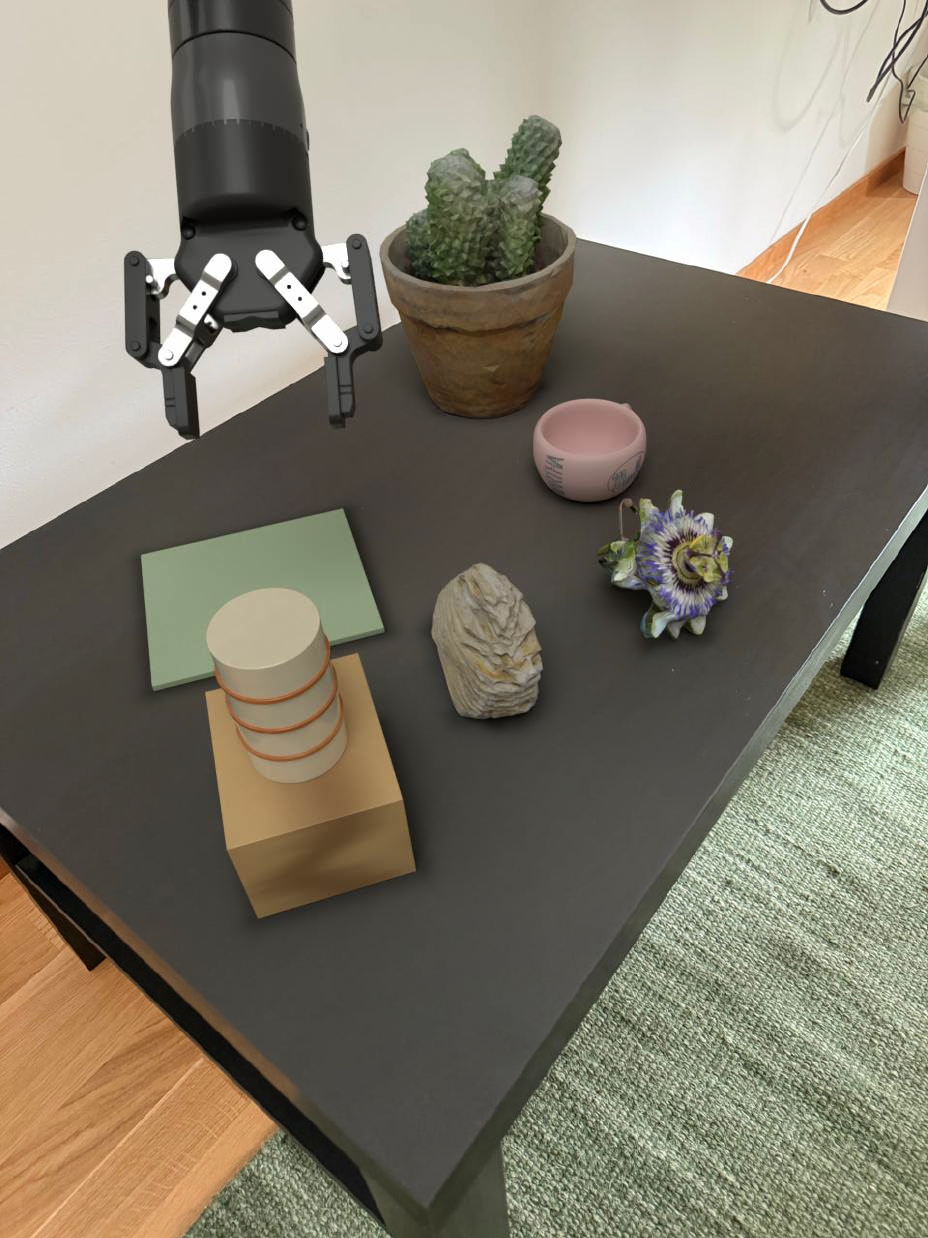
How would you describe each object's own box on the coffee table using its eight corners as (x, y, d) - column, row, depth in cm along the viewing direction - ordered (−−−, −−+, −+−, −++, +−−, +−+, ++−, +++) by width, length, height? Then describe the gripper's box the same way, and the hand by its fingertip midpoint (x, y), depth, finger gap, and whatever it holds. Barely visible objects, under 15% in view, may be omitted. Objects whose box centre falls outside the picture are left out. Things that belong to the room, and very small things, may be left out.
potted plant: (517, 459, 88) (511, 189, 71) (360, 411, 96) (319, 155, 78) (601, 369, 99) (615, 114, 81) (454, 332, 106) (437, 91, 89)
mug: (604, 529, 80) (607, 473, 76) (511, 490, 85) (510, 435, 81) (673, 461, 87) (680, 406, 82) (584, 428, 91) (586, 374, 87)
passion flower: (684, 674, 75) (681, 655, 64) (570, 608, 78) (548, 579, 67) (756, 555, 75) (766, 516, 64) (639, 494, 79) (629, 446, 67)
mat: (153, 691, 70) (151, 686, 70) (142, 559, 81) (140, 554, 81) (385, 632, 73) (384, 627, 73) (343, 513, 84) (343, 507, 84)
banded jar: (253, 799, 53) (209, 684, 46) (239, 717, 57) (197, 601, 50) (360, 768, 54) (333, 652, 47) (339, 691, 58) (311, 573, 51)
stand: (258, 919, 56) (226, 849, 51) (234, 766, 65) (205, 691, 59) (416, 871, 58) (403, 799, 52) (373, 728, 66) (358, 652, 61)
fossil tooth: (492, 615, 75) (563, 743, 64) (417, 632, 74) (477, 766, 63) (488, 493, 68) (568, 614, 57) (406, 510, 67) (471, 637, 56)
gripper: (91, 124, 49) (114, 428, 49) (358, 102, 49) (381, 407, 49) (140, 189, 57) (161, 453, 57) (372, 170, 57) (393, 435, 57)
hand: (263, 431), depth 53 cm, fingers open, 8 cm apart
